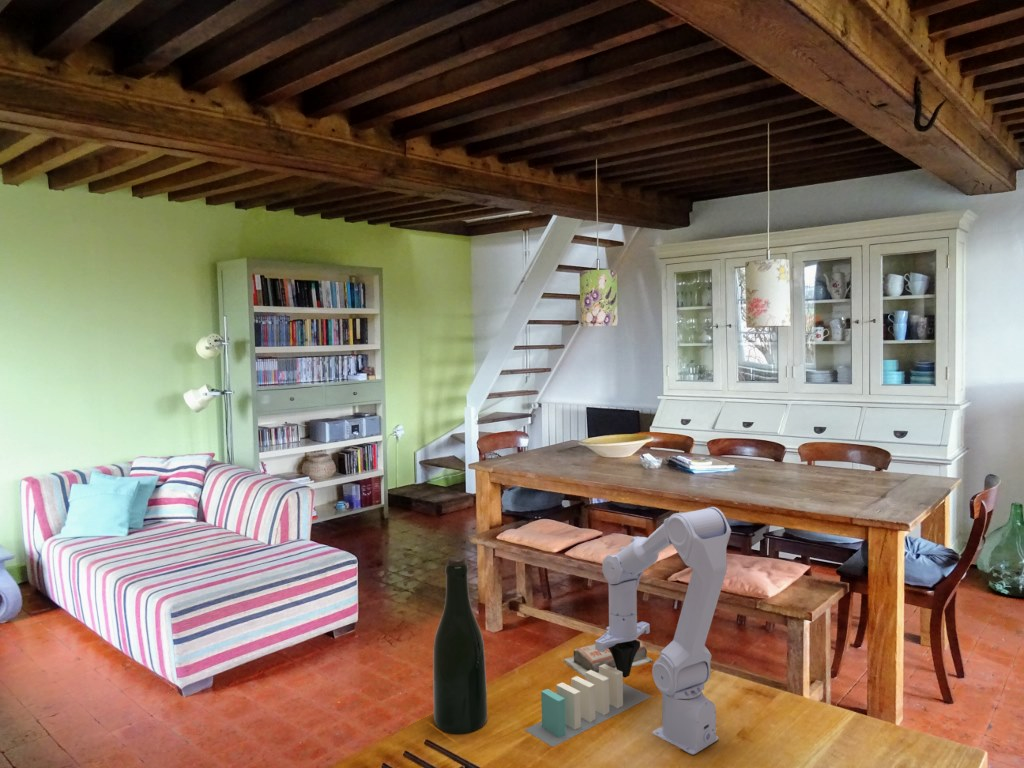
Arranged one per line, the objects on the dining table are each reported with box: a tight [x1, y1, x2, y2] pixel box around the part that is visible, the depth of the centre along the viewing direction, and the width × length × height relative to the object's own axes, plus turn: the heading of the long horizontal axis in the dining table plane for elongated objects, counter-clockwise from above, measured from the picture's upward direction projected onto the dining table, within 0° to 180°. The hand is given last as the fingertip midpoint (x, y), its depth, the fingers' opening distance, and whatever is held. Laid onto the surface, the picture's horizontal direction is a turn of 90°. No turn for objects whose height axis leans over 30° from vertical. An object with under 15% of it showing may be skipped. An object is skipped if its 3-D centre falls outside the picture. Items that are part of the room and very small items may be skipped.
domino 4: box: [584, 670, 609, 715], centre depth 149 cm, size 2×5×7 cm, turn 39°
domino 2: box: [556, 681, 581, 729], centre depth 144 cm, size 2×5×7 cm, turn 40°
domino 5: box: [599, 664, 624, 708], centre depth 152 cm, size 2×5×7 cm, turn 40°
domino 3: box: [570, 675, 595, 722], centre depth 146 cm, size 2×5×7 cm, turn 40°
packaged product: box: [563, 638, 654, 678], centre depth 170 cm, size 18×5×10 cm
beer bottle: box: [432, 555, 488, 735], centre depth 145 cm, size 10×10×33 cm
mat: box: [524, 683, 652, 748], centre depth 148 cm, size 8×28×1 cm, turn 130°
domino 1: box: [540, 688, 565, 737], centre depth 141 cm, size 2×5×7 cm, turn 37°
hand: (623, 675), depth 154 cm, fingers closed
